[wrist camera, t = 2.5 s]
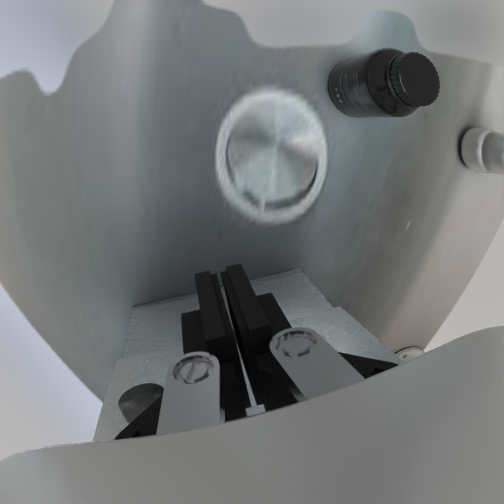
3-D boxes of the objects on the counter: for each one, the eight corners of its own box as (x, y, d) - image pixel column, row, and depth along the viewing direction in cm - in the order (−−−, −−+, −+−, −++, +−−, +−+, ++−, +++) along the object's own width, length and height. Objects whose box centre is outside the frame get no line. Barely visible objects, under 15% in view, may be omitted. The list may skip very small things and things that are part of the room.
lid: (478, 444, 11) (493, 404, 10) (82, 552, 8) (46, 523, 7) (340, 316, 28) (338, 285, 27) (121, 368, 25) (109, 339, 24)
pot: (326, 369, 45) (358, 421, 35) (156, 411, 42) (158, 472, 32) (322, 262, 39) (368, 306, 28) (109, 311, 35) (91, 372, 25)
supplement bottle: (364, 55, 30) (433, 36, 19) (385, 107, 33) (457, 107, 22) (316, 69, 30) (377, 48, 19) (339, 125, 33) (407, 128, 22)
